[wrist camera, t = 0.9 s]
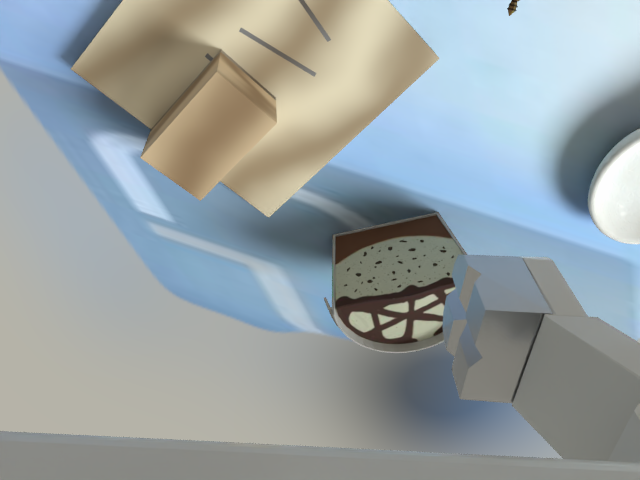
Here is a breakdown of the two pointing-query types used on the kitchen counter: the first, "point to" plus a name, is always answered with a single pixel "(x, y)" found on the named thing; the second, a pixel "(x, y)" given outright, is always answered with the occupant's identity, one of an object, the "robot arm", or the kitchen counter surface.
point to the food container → (394, 283)
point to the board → (264, 73)
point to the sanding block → (211, 126)
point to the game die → (512, 6)
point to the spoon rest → (618, 192)
